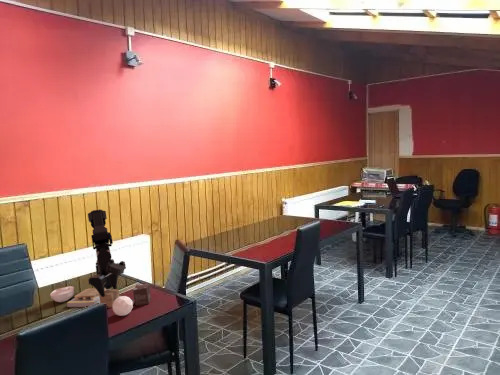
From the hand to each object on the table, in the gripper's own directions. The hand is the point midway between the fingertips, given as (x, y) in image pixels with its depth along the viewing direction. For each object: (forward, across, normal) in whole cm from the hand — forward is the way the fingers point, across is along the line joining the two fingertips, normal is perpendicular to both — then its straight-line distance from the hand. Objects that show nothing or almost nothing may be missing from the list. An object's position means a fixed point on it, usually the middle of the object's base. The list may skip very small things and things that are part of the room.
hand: (109, 292), depth 183 cm
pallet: (+4, +6, +14) cm, 16 cm away
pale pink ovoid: (+6, -9, -13) cm, 17 cm away
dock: (+6, +6, +14) cm, 16 cm away
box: (+6, +2, -15) cm, 16 cm away
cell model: (+6, +6, +29) cm, 30 cm away
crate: (+6, 0, 0) cm, 6 cm away
